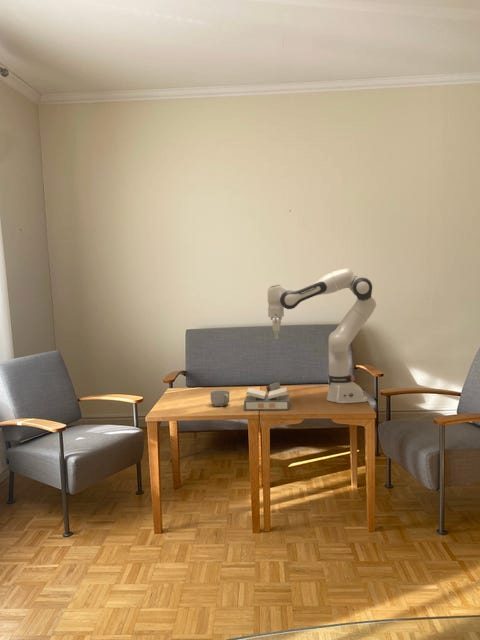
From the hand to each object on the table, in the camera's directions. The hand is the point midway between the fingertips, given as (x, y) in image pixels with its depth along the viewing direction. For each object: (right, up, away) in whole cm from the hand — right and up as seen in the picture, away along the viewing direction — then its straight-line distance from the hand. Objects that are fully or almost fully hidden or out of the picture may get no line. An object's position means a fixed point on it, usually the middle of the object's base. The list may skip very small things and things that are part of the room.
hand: (277, 337), depth 314 cm
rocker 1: (-12, -30, -13) cm, 35 cm away
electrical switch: (-1, -36, +7) cm, 36 cm away
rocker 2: (0, -30, -14) cm, 33 cm away
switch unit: (-6, -38, -13) cm, 40 cm away
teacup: (-32, -38, -6) cm, 50 cm away
